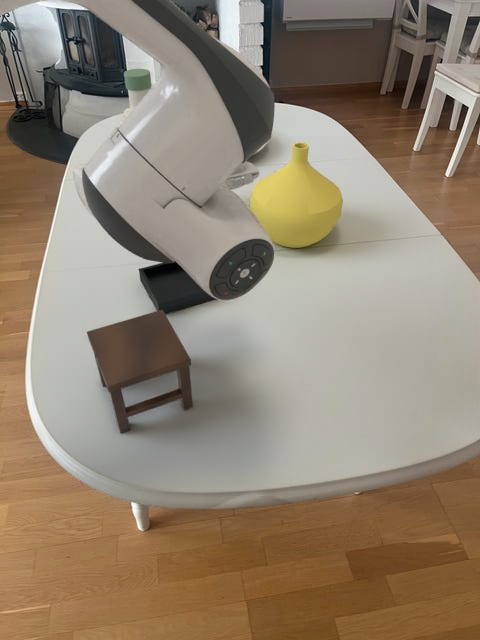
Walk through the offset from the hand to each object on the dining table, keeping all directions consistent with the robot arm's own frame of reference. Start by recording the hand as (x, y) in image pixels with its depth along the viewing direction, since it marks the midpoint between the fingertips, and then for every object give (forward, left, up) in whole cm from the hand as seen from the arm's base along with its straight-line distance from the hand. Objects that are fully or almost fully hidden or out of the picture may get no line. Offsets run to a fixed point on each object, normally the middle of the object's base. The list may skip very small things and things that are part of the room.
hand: (144, 148), depth 67 cm
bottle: (0, -1, -8) cm, 9 cm away
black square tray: (+5, +8, -31) cm, 32 cm away
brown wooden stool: (-8, -13, -31) cm, 34 cm away
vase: (+33, +15, -31) cm, 48 cm away
